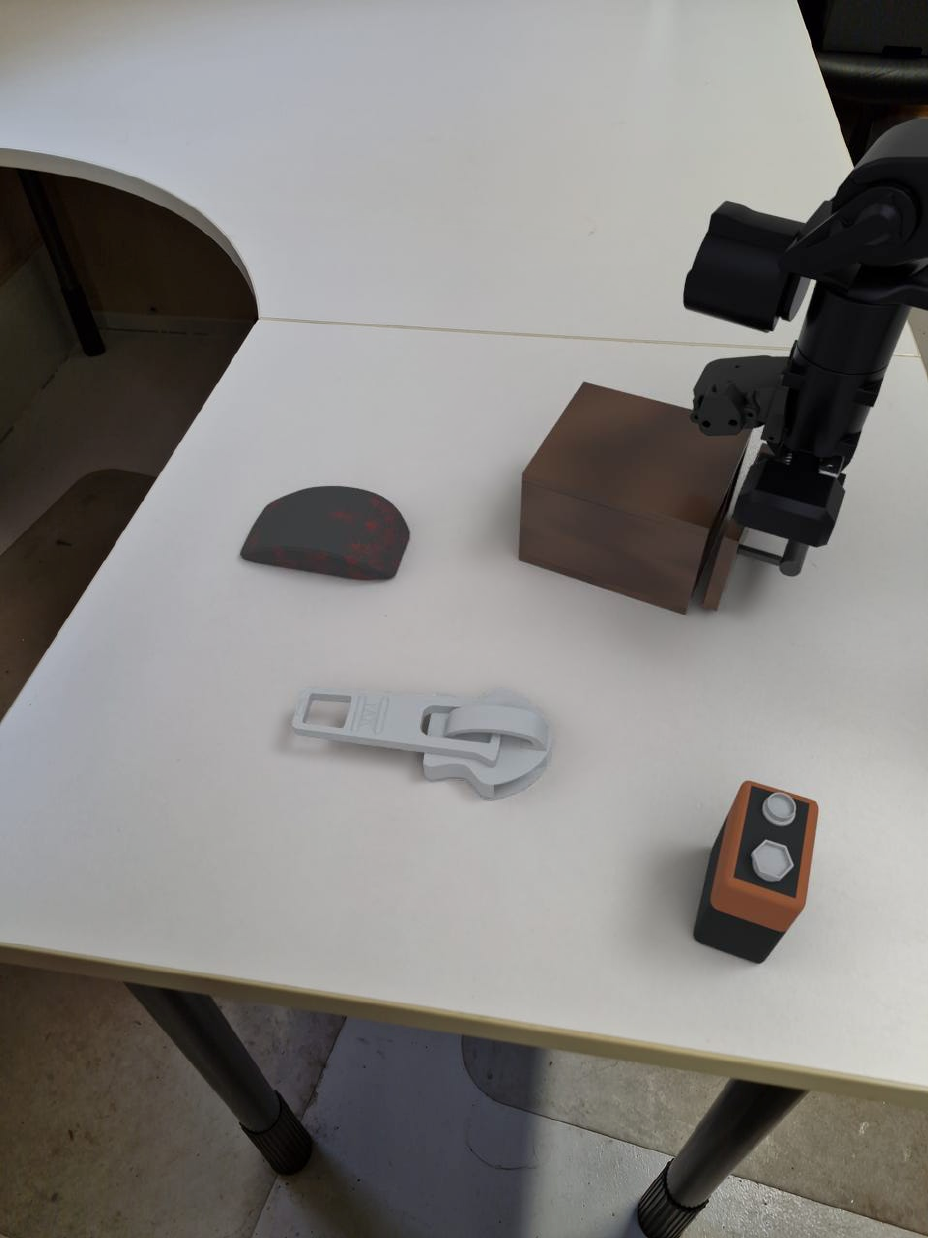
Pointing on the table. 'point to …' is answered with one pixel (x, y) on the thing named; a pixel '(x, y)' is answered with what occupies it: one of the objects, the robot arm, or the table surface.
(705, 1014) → the table surface
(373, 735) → the zipper pull
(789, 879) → the battery
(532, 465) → the cabinet
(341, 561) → the dark grey half-round block
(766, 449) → the drawer
